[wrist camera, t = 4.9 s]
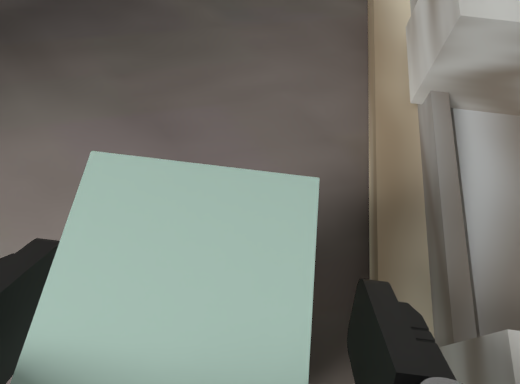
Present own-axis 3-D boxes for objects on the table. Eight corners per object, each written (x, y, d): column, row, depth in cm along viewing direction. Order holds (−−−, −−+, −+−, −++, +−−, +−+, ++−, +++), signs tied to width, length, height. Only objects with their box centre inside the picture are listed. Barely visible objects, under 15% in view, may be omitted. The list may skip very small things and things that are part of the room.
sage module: (143, 402, 15) (2, 407, 6) (169, 280, 17) (91, 150, 8) (266, 418, 15) (305, 446, 6) (278, 294, 17) (319, 178, 8)
